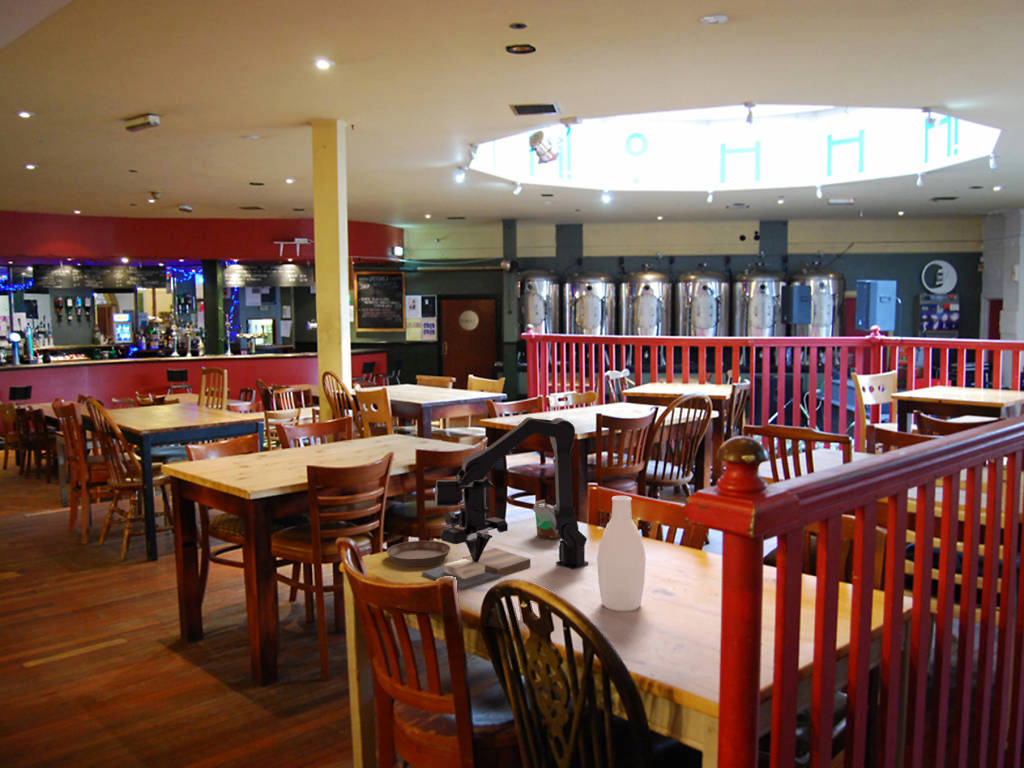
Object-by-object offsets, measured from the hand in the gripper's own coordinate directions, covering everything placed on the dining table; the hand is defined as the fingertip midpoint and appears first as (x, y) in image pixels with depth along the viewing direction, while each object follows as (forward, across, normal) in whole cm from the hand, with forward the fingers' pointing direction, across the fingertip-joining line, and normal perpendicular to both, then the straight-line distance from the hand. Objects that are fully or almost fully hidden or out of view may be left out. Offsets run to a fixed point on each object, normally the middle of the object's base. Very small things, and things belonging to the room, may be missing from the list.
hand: (475, 562), depth 210 cm
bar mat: (+3, +5, 0) cm, 6 cm away
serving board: (+3, -7, 0) cm, 8 cm away
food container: (+3, -36, -10) cm, 38 cm away
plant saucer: (+3, +4, -20) cm, 20 cm away
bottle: (+3, -8, +42) cm, 43 cm away
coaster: (+2, +4, 0) cm, 4 cm away
